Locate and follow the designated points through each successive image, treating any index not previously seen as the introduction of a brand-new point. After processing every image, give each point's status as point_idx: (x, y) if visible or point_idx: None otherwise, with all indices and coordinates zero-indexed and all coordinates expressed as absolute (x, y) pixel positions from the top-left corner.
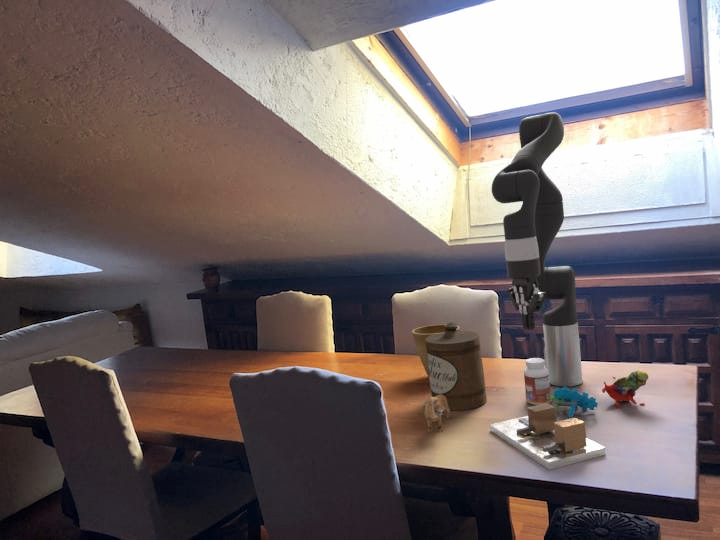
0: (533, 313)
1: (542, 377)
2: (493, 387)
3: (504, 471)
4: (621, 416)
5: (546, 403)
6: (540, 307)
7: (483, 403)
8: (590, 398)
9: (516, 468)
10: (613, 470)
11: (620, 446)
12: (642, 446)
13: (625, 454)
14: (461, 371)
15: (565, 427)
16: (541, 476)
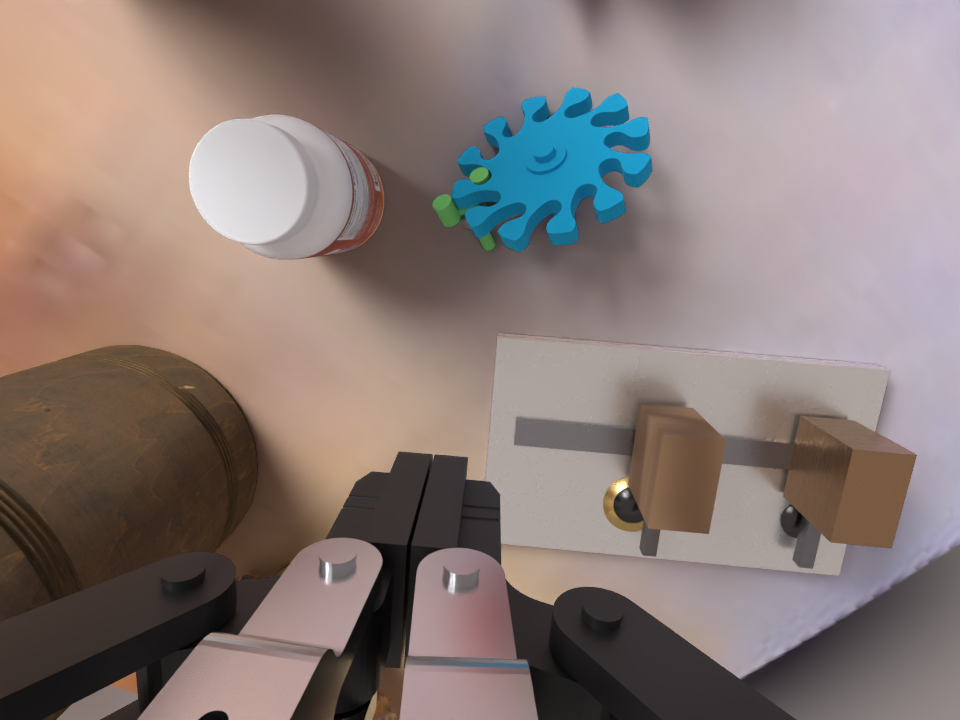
0: (514, 599)
1: (352, 202)
2: (56, 239)
3: (746, 656)
4: (682, 40)
5: (666, 440)
6: (710, 667)
7: (236, 405)
8: (637, 143)
9: (754, 622)
10: (957, 423)
11: (866, 275)
12: (919, 214)
13: (916, 310)
14: None
15: (892, 538)
16: (837, 600)
